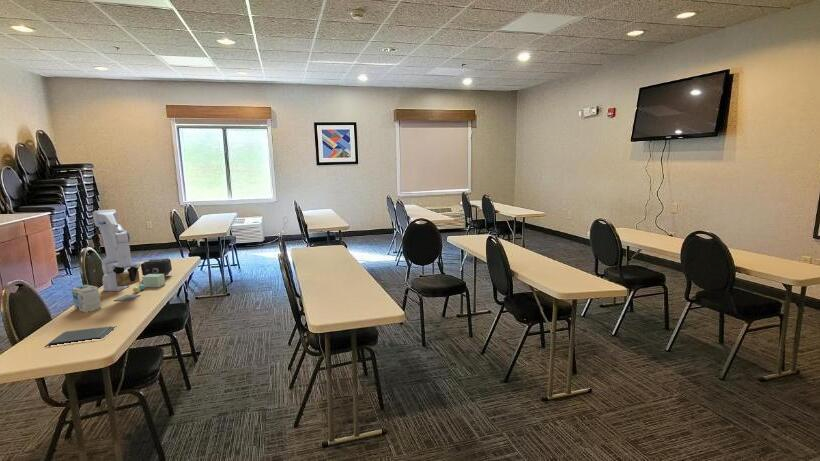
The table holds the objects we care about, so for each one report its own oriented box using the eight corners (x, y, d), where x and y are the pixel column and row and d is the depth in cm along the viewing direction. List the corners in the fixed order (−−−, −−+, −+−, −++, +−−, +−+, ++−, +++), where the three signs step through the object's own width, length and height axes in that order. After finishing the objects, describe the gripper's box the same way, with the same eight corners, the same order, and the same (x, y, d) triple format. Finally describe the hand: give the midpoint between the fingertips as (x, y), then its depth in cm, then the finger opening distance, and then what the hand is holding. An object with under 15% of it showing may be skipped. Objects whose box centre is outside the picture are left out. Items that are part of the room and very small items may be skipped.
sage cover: (159, 287, 229) (157, 276, 228) (143, 287, 230) (142, 276, 229) (165, 284, 234) (164, 273, 233) (150, 284, 235) (149, 273, 234)
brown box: (116, 286, 208) (115, 274, 207) (130, 281, 217) (128, 270, 216) (127, 286, 208) (125, 274, 207) (139, 281, 217) (138, 270, 216)
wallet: (41, 345, 156) (63, 329, 170) (42, 349, 156) (64, 333, 171) (101, 338, 161) (118, 323, 175) (102, 342, 161) (119, 327, 176)
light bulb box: (74, 309, 197) (70, 288, 195) (90, 304, 203) (86, 284, 201) (86, 313, 192) (82, 291, 190) (102, 308, 198) (98, 286, 196)
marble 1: (131, 293, 219) (131, 288, 218) (136, 291, 222) (135, 286, 221) (137, 293, 219) (136, 288, 218) (141, 291, 222) (140, 286, 221)
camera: (173, 275, 255) (145, 275, 251) (172, 257, 254) (145, 257, 249) (168, 280, 245) (139, 280, 241) (168, 261, 244) (139, 261, 239)
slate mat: (114, 300, 208) (114, 300, 208) (126, 295, 216) (126, 294, 216) (128, 300, 207) (128, 300, 207) (140, 295, 215) (140, 294, 215)
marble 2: (137, 290, 223) (136, 285, 222) (141, 289, 226) (140, 283, 225) (142, 290, 223) (141, 285, 222) (146, 289, 226) (145, 283, 225)
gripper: (104, 257, 206) (108, 283, 209) (131, 257, 205) (135, 283, 208) (115, 254, 213) (119, 279, 216) (141, 253, 212) (145, 279, 214)
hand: (127, 281), depth 212 cm, fingers closed on brown box, 5 cm apart
